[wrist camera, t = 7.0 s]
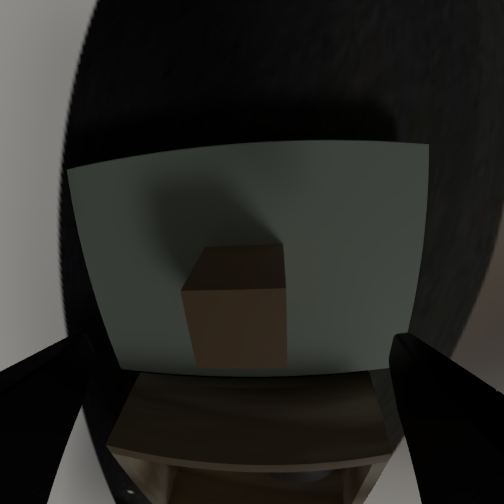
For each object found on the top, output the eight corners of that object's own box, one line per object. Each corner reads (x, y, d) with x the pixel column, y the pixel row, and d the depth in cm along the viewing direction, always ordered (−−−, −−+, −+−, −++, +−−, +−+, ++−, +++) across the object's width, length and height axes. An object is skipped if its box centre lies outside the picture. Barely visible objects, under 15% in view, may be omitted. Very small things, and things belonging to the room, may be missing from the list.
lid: (386, 338, 16) (419, 416, 10) (136, 343, 17) (95, 414, 12) (404, 141, 12) (480, 153, 7) (94, 162, 13) (11, 186, 8)
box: (346, 455, 20) (354, 517, 15) (175, 453, 21) (159, 511, 16) (368, 371, 17) (392, 453, 11) (140, 372, 18) (105, 444, 12)
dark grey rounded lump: (326, 447, 19) (329, 481, 16) (270, 449, 19) (269, 483, 16) (332, 415, 17) (337, 453, 14) (269, 418, 17) (267, 457, 15)
